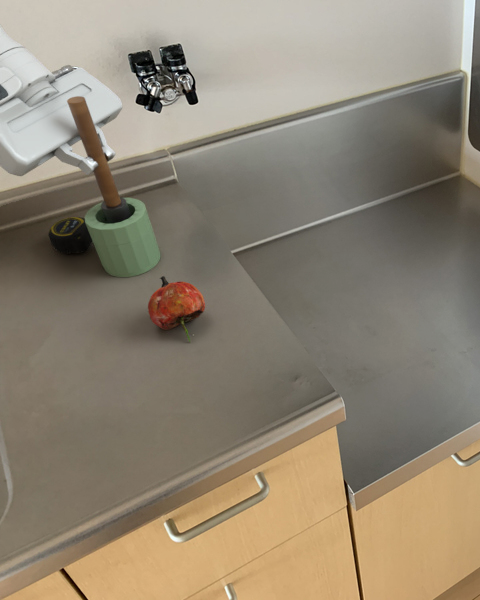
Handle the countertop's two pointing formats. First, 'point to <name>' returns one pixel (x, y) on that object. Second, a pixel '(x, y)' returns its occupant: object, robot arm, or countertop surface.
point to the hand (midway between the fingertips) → (102, 164)
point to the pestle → (112, 204)
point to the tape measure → (70, 235)
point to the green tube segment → (124, 240)
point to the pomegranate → (175, 304)
